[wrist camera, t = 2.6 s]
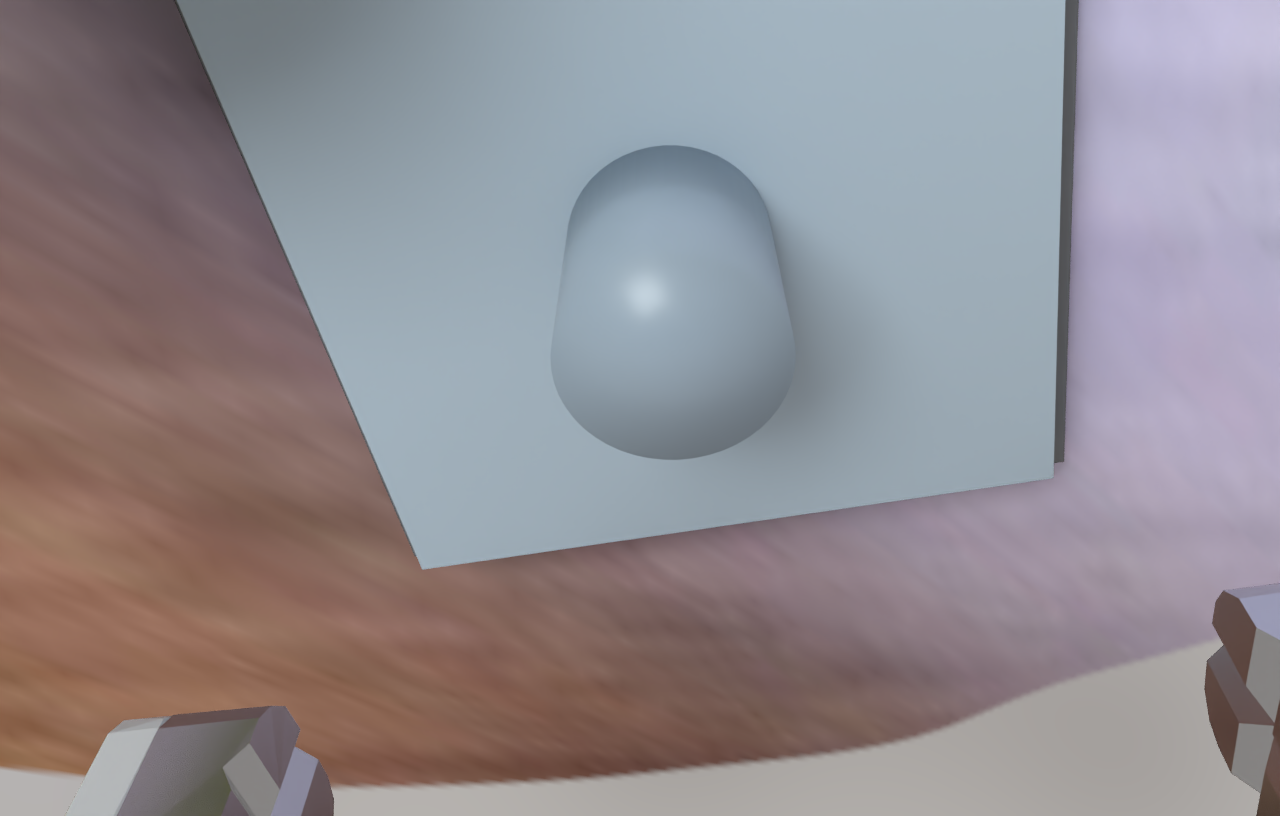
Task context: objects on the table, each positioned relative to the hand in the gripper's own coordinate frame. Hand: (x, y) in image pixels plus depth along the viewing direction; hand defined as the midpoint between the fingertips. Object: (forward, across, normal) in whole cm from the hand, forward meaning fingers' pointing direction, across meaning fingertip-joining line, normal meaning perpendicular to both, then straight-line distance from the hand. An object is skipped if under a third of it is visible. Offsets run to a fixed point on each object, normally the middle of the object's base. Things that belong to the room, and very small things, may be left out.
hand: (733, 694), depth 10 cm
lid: (+10, +1, 0) cm, 10 cm away
